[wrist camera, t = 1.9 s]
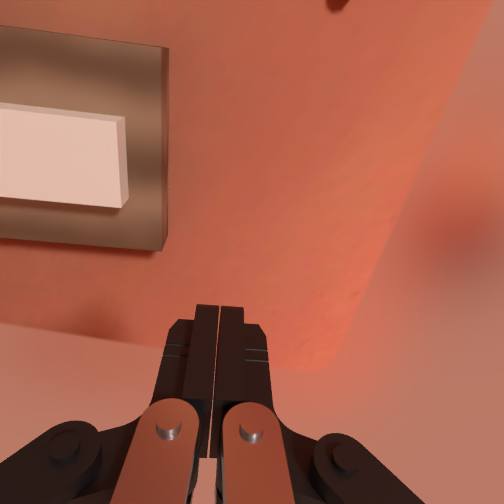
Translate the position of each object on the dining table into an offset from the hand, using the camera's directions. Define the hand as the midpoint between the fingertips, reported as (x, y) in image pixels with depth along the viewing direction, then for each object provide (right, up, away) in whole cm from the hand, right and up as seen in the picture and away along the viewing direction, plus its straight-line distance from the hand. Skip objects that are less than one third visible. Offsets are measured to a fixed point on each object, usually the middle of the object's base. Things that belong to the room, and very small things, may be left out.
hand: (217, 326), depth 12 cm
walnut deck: (-13, +11, +17) cm, 24 cm away
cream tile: (-12, +10, +14) cm, 21 cm away
